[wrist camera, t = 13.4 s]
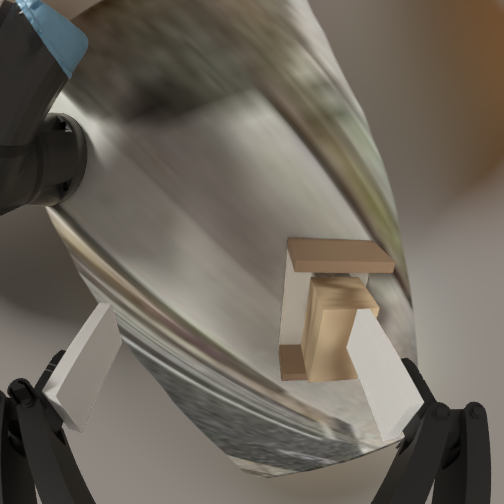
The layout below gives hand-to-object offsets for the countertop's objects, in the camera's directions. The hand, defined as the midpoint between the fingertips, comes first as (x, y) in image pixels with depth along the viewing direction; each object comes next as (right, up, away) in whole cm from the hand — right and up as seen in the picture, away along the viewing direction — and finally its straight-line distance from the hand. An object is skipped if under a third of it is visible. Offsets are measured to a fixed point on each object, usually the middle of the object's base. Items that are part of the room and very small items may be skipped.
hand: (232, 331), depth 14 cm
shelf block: (+12, -5, +25) cm, 28 cm away
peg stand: (+12, -3, +29) cm, 32 cm away
